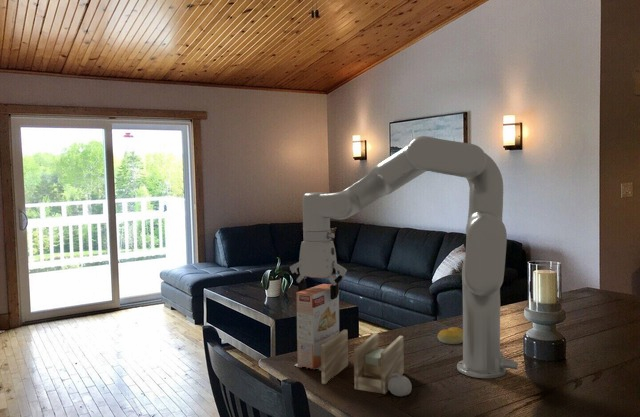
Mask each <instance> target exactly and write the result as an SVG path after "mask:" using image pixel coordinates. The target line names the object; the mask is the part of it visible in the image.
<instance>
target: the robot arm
mask: <svg viewBox="0 0 640 417" xmlns="http://www.w3.org/2000/svg"><path fill="white" fill-rule="evenodd" d="M425 172H431V173H437V174H442V175H448V176H453V177H454V176H455V177H460V178H464V179H466V180H467V183H468V186H469V196H468V198H469V199H468V201H469V202H468V214H467V215H468V216H467V222H466V226H465V234H466V236H465V237H466V238H465V239H466V240H465V241H466V242H465V253H464V254H465V255H464V256H465V257H464V261H463V263H462V268H461V280H462V281H461V282H462V283H461V284H462V330H463V343H462V360H460V361H458V363H457V364H456V369H457V371H458V372H459V373H461V375H462V374H463V375H465V376H467V377H471V378H477V379H495V378H501V377H503V376H505V375H506V374H507V369H510V370H517V371H518V368H519V362H518V361H515V359H512V358H506V357H504V352H501V287H502V285H503V283H504V279H505V278H504V277H505V267H506V255H507V242H508V241H507V240H508V237H507V235H508V234H507V228H506V226H505V223H504V222H503V214H504V213H503V212H504V181H503V176H502V173H501V170H500V169H499V167H498V165H497V162H495V160H494V159H493V158H492V157H491V156H489V155H488V154H487V153H486V152H485V151H484V150H483V148H481V147H480V146H478V145H477V144H473V143H468V142H462V141H456V140H448V139H443V138H437V137H432V136H425V135H422V136H420V135H419V136H417V137H414V138H413V139H412V140H411V141H410V142H409V144H406V146H405V147H402V148H401V149H399V150H398V151H397V152H395V153H393V154H392V155H390V156H389V157H387V158H385V159H384V160H383V161H381V162H379V163H378V164H376V165H375V166H374V167H373V168H372V169H371V170H370V172H369V173H367V174H366V175H365V176H364V177H362V178H361V179H359V180H358V181H356V182H355V183H353V184H352V185H351V186H348V187H347V188H345V189H344V190H342V191H337V192H331V193H326V192H323V191H322V192H306V193H304V194H303V195H302V230H303V233H302V234H303V241H301V244H300V250H299V257H298V260H299V261H298V262H296V263H293V264H292V265H290V266H289V270H290V271H291V273H292V277H293V278H294V279H295V280H296V283H298V284H297V286H298V291H297V292H299V291H302V290H306V289H307V280H305V279H307V278H319V279H320V278H321V279H327V280H328V281H329V282H330V284H332V285H331V286H330V299H331V300H333V299H335V298H337V296H338V286H339V284H340V283H341V282H342V280H344V278H345V276H346V274H347V271H348V269H347V268H345V267H344V266H342V265H340V264H339V263H338V262H337V252H336V247H335V244H334V241H333V240H332V239H335V237H336V236H335V233H334V232H332V231H331V219H333V220H346V219H349V218H350V217H352V216H354V215H356V214H357V213H359V212H361V211H362V210H363V209H365V208H367V207H368V206H370V205H372V204H373V203H375V202H376V201H378V200H380V199H381V198H383V197H385V196H387V195H390V194H392V193H394V192H395V191H396V190H398V189H400V188H402V187H403V186H404V185H406V184H408V183H410V182H411V181H412V180H414V179H415V178H417V177H420V175H423V174H424V173H425ZM298 269H299V272H298ZM338 272H339V274H338ZM337 275H338V276H337Z"/></svg>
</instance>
